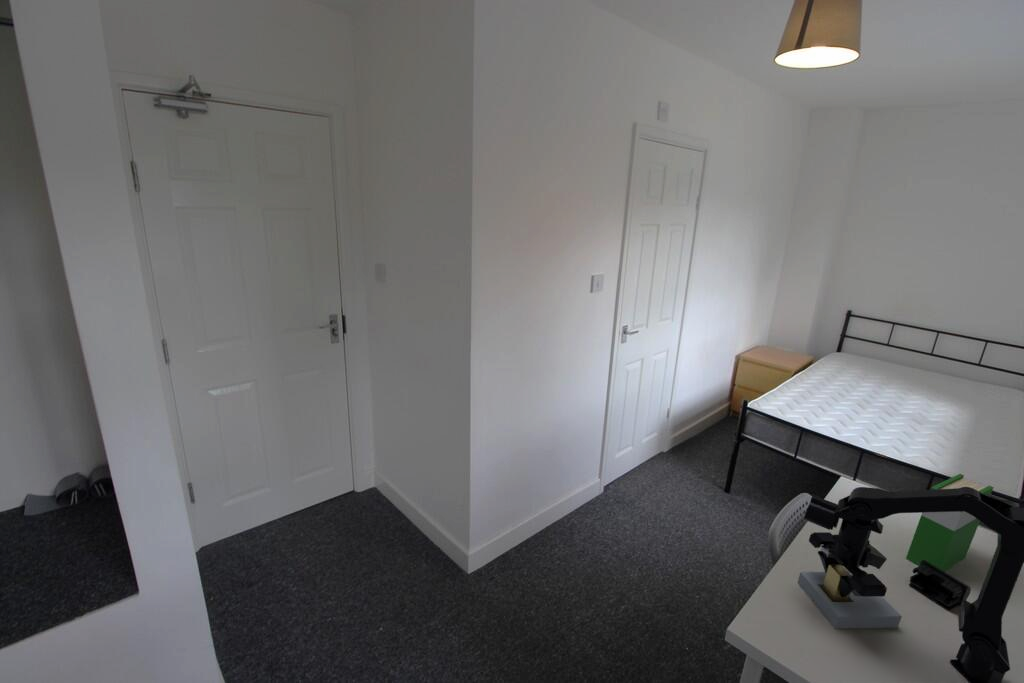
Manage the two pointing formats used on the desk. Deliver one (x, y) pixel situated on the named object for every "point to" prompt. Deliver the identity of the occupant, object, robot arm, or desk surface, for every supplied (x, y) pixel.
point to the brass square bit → (834, 583)
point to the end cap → (939, 586)
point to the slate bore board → (849, 606)
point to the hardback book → (945, 531)
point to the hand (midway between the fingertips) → (836, 589)
